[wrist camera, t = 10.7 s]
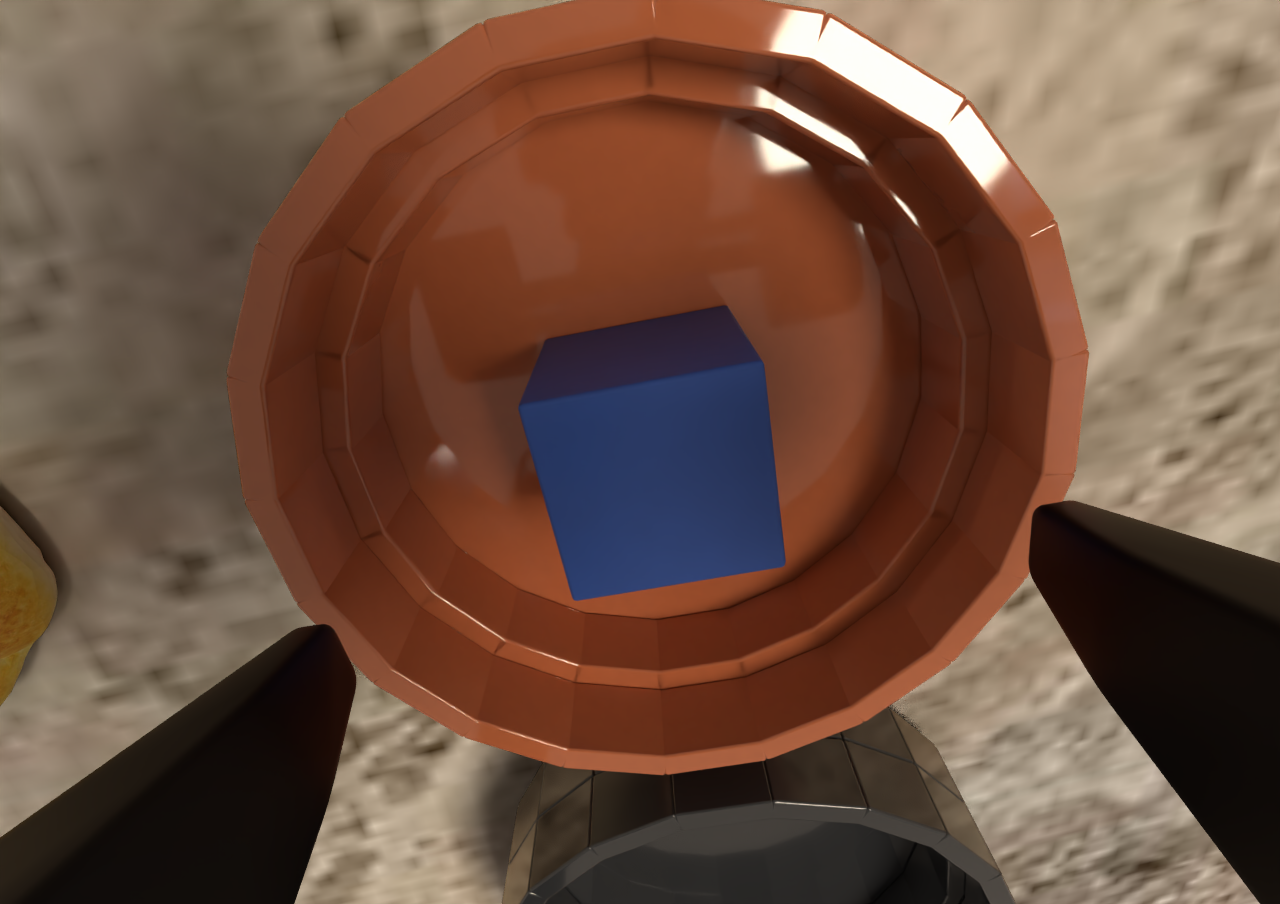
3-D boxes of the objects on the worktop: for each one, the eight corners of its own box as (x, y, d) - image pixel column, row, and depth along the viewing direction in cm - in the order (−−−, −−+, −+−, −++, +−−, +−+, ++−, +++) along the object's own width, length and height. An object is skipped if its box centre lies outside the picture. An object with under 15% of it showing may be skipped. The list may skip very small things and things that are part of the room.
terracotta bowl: (951, 589, 18) (1048, 721, 14) (450, 669, 19) (402, 815, 15) (967, -34, 12) (1146, -126, 8) (229, 124, 13) (44, 114, 9)
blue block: (749, 469, 16) (787, 567, 12) (584, 498, 16) (572, 603, 12) (727, 304, 14) (764, 360, 10) (544, 338, 14) (516, 406, 10)
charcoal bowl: (943, 920, 24) (1007, 1076, 20) (572, 968, 25) (562, 1127, 21) (951, 626, 18) (1043, 763, 14) (464, 702, 19) (421, 851, 15)
